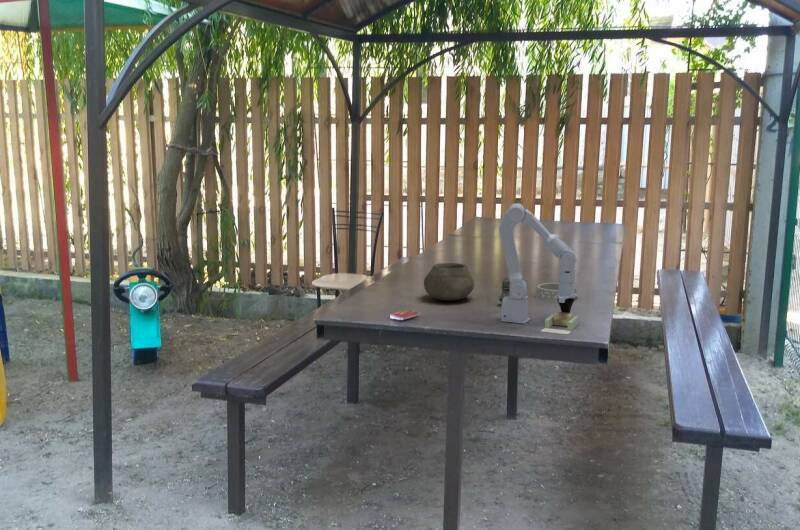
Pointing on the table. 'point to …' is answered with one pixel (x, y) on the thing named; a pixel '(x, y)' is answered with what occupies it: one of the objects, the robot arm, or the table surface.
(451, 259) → the table surface
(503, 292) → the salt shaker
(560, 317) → the birch block
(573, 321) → the rails
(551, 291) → the dog bowl
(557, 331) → the mat
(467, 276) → the clay pot
